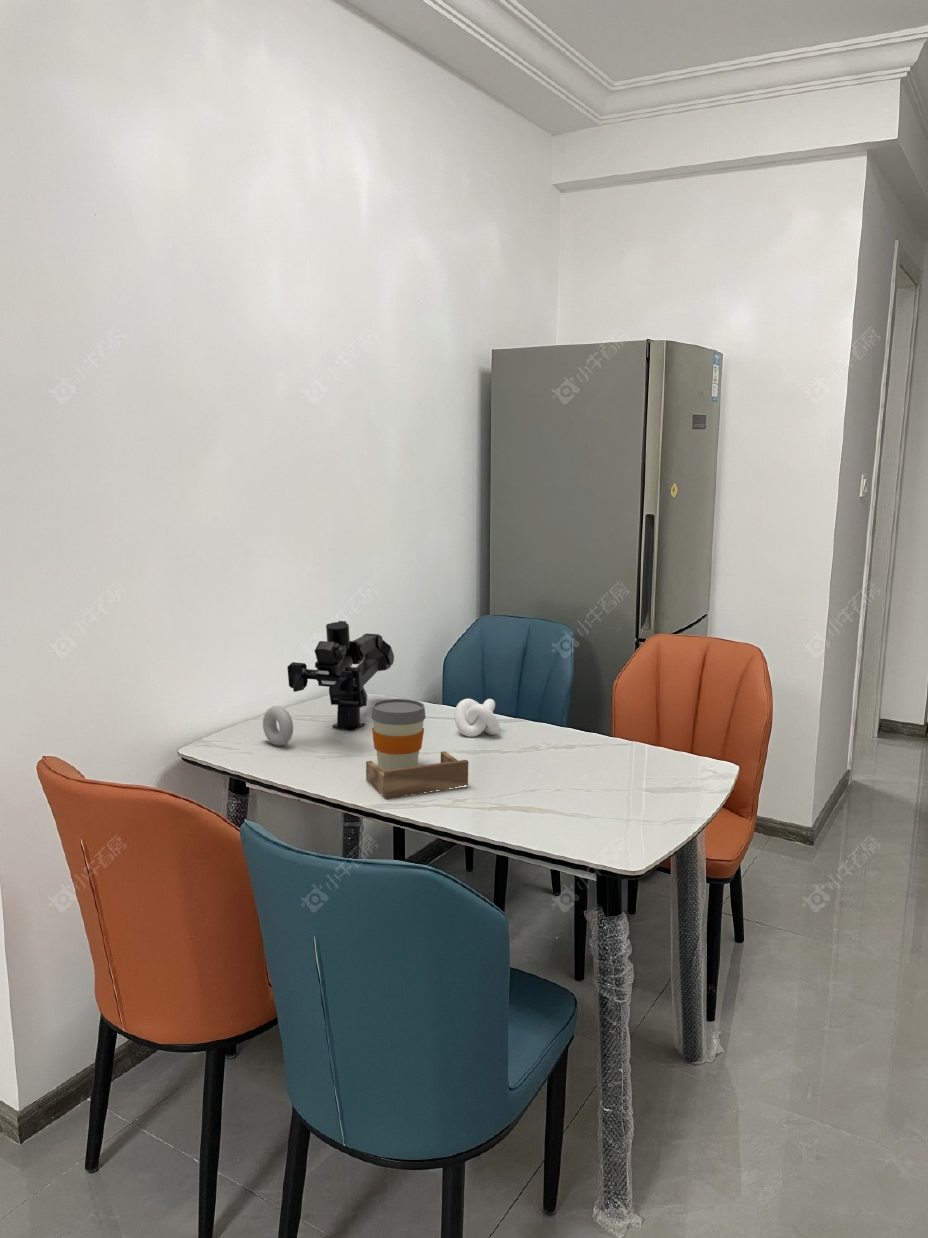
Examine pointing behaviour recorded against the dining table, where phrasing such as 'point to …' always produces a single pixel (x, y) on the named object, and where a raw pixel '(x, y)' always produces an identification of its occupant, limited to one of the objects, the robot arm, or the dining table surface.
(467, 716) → the white knot
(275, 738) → the donut
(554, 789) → the dining table surface
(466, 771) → the holder
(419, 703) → the reusable coffee cup
